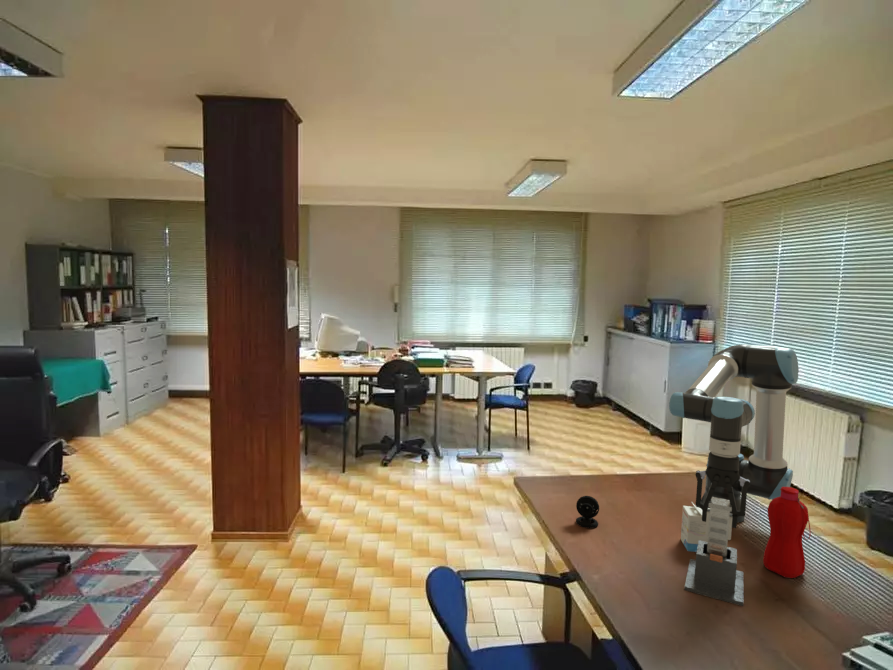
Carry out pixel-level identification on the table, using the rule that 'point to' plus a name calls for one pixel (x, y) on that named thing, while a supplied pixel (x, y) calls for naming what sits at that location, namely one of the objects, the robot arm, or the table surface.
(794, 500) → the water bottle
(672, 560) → the table surface
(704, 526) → the ink box
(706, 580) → the stand base
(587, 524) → the webcam
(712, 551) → the column
